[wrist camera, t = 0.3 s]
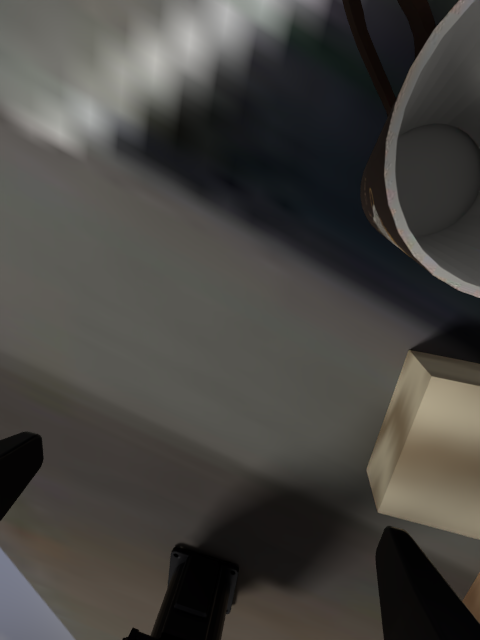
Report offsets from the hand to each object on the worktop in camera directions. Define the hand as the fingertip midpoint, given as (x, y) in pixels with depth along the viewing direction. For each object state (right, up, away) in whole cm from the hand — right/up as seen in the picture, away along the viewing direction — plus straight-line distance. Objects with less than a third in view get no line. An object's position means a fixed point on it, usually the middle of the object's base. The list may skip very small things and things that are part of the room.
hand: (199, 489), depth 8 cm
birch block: (+16, -3, +13) cm, 21 cm away
